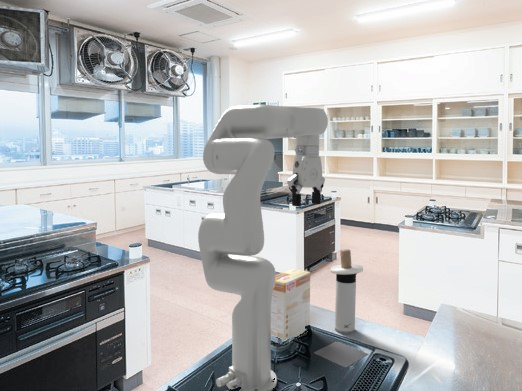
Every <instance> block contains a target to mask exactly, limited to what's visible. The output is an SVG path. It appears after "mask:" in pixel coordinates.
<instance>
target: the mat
mask: <svg viewBox="0 0 522 391" xmlns="http://www.w3.org/2000/svg"><path fill="white" fill-rule="evenodd" d="M336 341H337V340H336ZM336 341H334V342H332V343H331V344H329V345H328V344H327V345H326V346H324V347H321V348H320V349H318V350H316V351H314V352H313V354H315V355H317V356H319V357H321V358H323V359H325V360H327V361H330V362H331V363H334V364H336V365H338V366H340V367H343V368H347V367H349V366H351V365H353V364H355V363H356V362H358V361H359V360H361V359H363V358H365V357H367V356H368V355H369V353H367V352H364V351H362V350H360V349H358V348H355V347H353V346H350V345H347V344H345V343H343V342H341V341H337V342H336Z"/></svg>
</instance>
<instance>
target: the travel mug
mask: <svg viewBox="0 0 522 391" xmlns="http://www.w3.org/2000/svg"><path fill="white" fill-rule="evenodd" d="M357 274H358V273H356V274H335V275H336V279H335V307H334V308H335V312H334V330H335V332H337V333H339V334H341V335H343V334H344V335H351V334H354V333H355V331H356V330H355V329H356V299H357V297H356V296H357V295H356V293H357Z"/></svg>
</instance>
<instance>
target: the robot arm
mask: <svg viewBox="0 0 522 391" xmlns="http://www.w3.org/2000/svg"><path fill="white" fill-rule="evenodd" d="M328 119H329V118H328V115H327V113H326V111H325V110H324V109H322V108H320V107H318V108H317V107H297V106H285V105H284V106H283V105H272V104H250V105H249V104H248V105H247V104H246V105H233V106H230V107H229V108H228V109H226V110H225V111H224V112H223V113H222V115H221V116H220V118H219V119H218V121H217V122H216V125H215V126H214V128H213V130H212V131H211V133H210V136H209V137H208V139H207V140H206V143H205V145H204V147H203V153H202V162H203V165H204V167H205V169H207V171H208V172H210V173H213V174H216V175H234V176H233V177H232V178H231V180H230V182H229V183H228V184H227V186H226V187H225V189H224V192H223V195H222V205H223V206H222V207H223V212H221V213H220V212H214V213H210V214H208V215H206V216H204V218H203V219H201V222H200V225H199V228H198V233H197V234H198V235H197V236H198V237H197V240H198V247H199V248H198V249H199V253H200V258H201V264H202V269H203V273H204V278H205V281H206V283H207V286H208V287H209V288H211V290H214V291H217V292H223V293H229V294H232V295H233V294H234V295H238V296H240V297H241V298H240V300H239V302H237V304H236V305H235V306H234V308H233V311H232V314H231V316H232V317H231V345H232V346H231V351H232V352H231V362H232V363H231V366H229V367H228V372H226V374H225V375H222V376H221V377H218V378H216V379H215V384H216V387H217V388H221V387H223V386H225V385H226V387H227V388H228V390H230V389H233V388H236V387H241V389H240V390H239V391H273V390H274V389H275V388H276V386H277V382H278V376H277V374H276V373H275V372H274V371H273V370H272V369H271V368H272V367H271V365H272V360H271V359H272V355H271V354H272V351H271V350H272V347H271V346H272V345H271V344H272V342H271V303H272V294H273V288H274V283H275V276H276V269H275V268H276V267H275V265H274V264H273V263H272V262H271V261H270V260H269V259H266V258H264V257H262V256H261V257H260V256H256V255H258V254H260V253H261V251H262V250H264V245H265V231H264V222H263V215H262V206H261V205H262V204H261V194H262V190H263V186H264V184H265V182H266V179H267V177H268V174H269V173H270V170H271V168H272V166H273V164H274V162H275V161H274V160H275V147H274V144H273V142H272V141H270V140H273V139H286V138H295V149H294V152H295V156H294V160H293V166H292V175H291V177H289V178H288V179H287V180H286V182H287V186H288V190H290V194H291V202H292V203H291V206H292V207H301V205H302V194H301V191H302V189H303V188H304V189H308V188H311V189H312V190H313V191H312V192H311V204H313V205H320V204H321V201H322V200H321V195H322V194H321V193H322V192H323V188H324V186H325V185H324V184H325V181H326V179H325V177H324V176H323V165H322V159H321V156H320V135H322V134H324V133H325V132H326V130H327V129H328V126H329V125H328V124H329V120H328ZM274 378H275V380H273V379H274ZM273 381H274V382H273ZM273 388H274V389H273Z"/></svg>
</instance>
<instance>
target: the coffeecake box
mask: <svg viewBox="0 0 522 391" xmlns="http://www.w3.org/2000/svg"><path fill="white" fill-rule="evenodd" d="M310 313H311V271H306V270H302V269H299V268H298V269H297V268H291V269H289V270H286V271H284V272H281V273H278V274H275V283H274V288H273V294H272V303H271V336H274V337H278V338H280V339H282V340H286V339H289V338H292V337H297V336H299V335H300V334H302V333H303V332H304V331H305V330H306V329H305V326H306V325H310V321H311V318H310V317H311V316H310V315H311V314H310ZM310 326H311V325H310ZM299 337H300V336H299Z"/></svg>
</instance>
